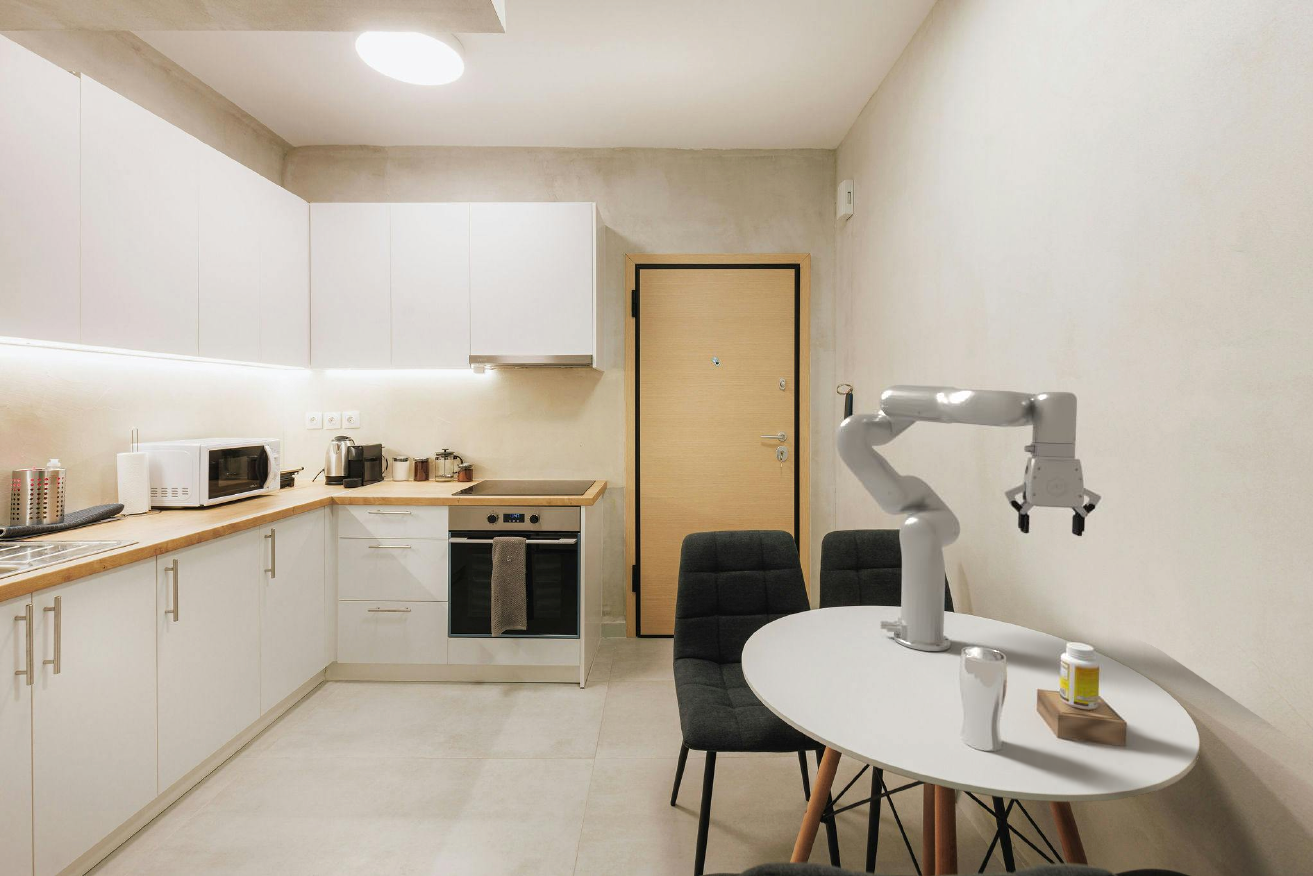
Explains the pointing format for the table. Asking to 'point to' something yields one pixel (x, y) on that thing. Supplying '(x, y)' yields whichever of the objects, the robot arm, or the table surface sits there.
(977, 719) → the beer glass
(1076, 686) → the supplement bottle
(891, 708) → the table surface
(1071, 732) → the base
